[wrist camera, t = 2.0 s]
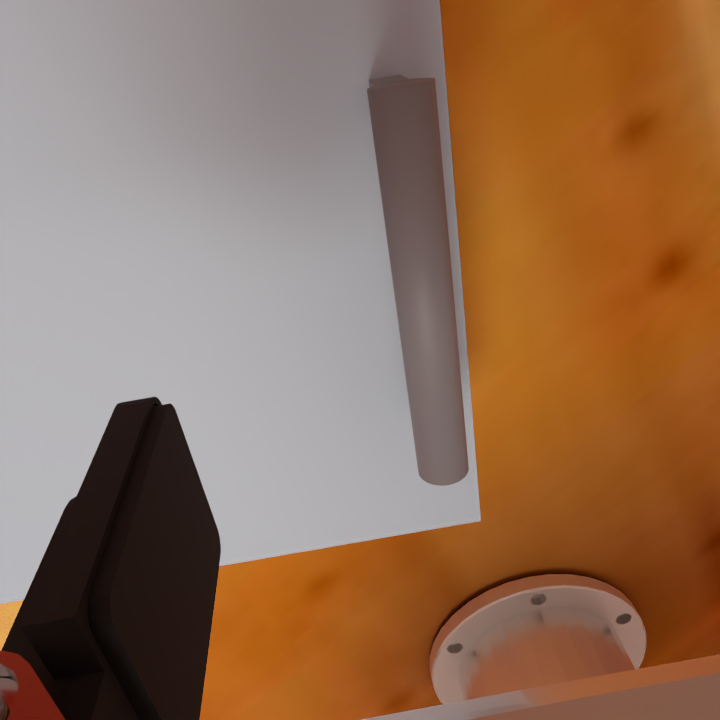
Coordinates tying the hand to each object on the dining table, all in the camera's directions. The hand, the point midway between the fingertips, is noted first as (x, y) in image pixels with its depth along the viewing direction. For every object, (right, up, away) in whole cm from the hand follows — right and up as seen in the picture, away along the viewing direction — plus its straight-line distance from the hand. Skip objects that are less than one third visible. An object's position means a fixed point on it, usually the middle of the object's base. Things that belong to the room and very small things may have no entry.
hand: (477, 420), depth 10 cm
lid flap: (-8, +3, +8) cm, 12 cm away
